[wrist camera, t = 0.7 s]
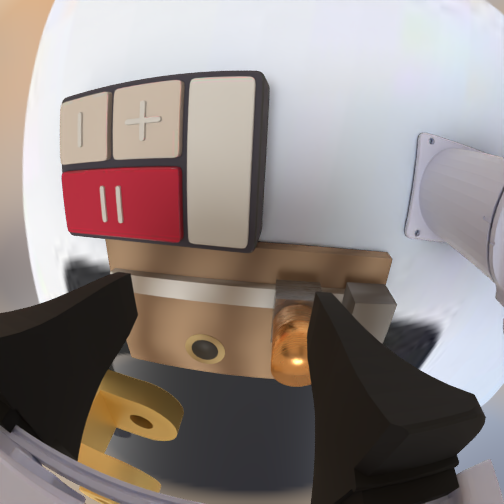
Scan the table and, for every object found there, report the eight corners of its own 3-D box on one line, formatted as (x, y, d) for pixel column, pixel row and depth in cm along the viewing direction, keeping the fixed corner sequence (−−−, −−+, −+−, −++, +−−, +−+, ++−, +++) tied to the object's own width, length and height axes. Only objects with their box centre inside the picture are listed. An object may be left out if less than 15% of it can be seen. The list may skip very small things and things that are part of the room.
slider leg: (318, 277, 19) (334, 345, 13) (301, 364, 23) (304, 431, 16) (276, 274, 19) (274, 342, 13) (266, 362, 23) (261, 430, 16)
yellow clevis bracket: (182, 391, 28) (141, 513, 14) (184, 428, 32) (156, 525, 17) (49, 344, 29) (-12, 423, 14) (67, 385, 33) (22, 458, 18)
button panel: (54, 98, 14) (263, 66, 12) (89, 99, 18) (270, 82, 16) (63, 239, 18) (253, 260, 17) (93, 222, 22) (261, 235, 20)
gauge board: (387, 252, 20) (410, 281, 15) (349, 371, 25) (357, 407, 21) (112, 231, 21) (80, 254, 17) (136, 349, 26) (118, 381, 22)
